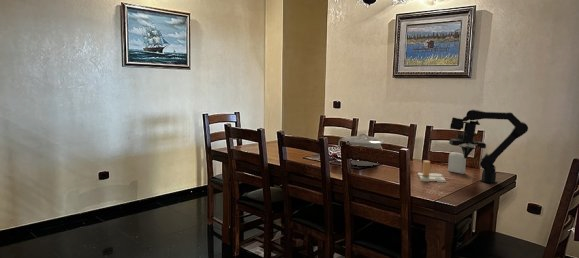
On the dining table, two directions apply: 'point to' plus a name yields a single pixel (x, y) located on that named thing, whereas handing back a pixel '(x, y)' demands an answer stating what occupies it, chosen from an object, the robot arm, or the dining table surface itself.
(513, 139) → the robot arm
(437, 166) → the dining table surface
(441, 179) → the switch panel
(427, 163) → the switch knob
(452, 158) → the photo printer
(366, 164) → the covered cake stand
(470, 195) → the dining table surface
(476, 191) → the dining table surface
